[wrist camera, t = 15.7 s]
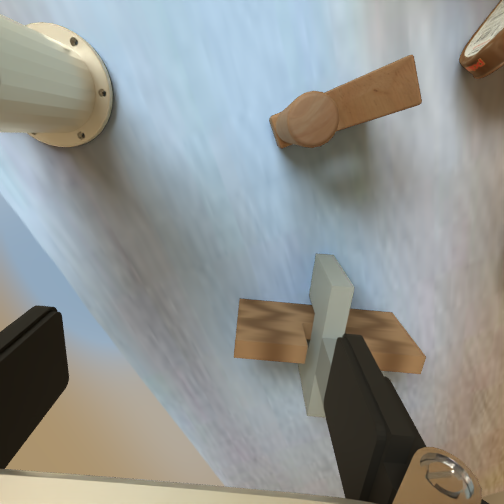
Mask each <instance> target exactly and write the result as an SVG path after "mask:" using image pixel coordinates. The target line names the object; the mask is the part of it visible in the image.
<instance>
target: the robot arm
mask: <svg viewBox="0 0 504 504" xmlns="http://www.w3.org/2000/svg"><path fill="white" fill-rule="evenodd" d="M76 42H78V45H76ZM104 92H106V96H104ZM112 104H113V91H112V86H111V80H110V77H109V74H108V71H107V69H106V67H105V65H104V63H103V61H102V59H101V58H100V56H99V55H98V54H97V52H96V51H95V50H94V48H93V47H92V46H91V45H90V44H89V43H88V42H87V41H86V40H84V39H83V38H82V37H80V36H79V35H77V34H76V33H74V32H73V31H71V30H69V29H67V28H65V27H62V26H59V25H56V24H53V23H44V22H39V23H30V24H28V25H22V24H20V23H18V22H16V21H14V20H12V19H10V18H8V17H6V16H3V15H1V14H0V132H7V133H27V134H29V135H30V136H32V137H33V138H35V139H37V140H38V141H41V142H43V143H46V144H48V145H52V146H57V147H73V146H79V145H82V144H85V143H87V142H89V141H91V140H92V139H94V138H95V137H96V136H97V135H99V134H100V133H101V132H102V130H103V129H104V127H105V126H106V124H107V122H108V119H109V117H110V114H111V109H112ZM83 134H85V138H84V137H83ZM68 381H69V373H68V364H67V356H66V347H65V339H64V330H63V322H62V315H61V313H60V312H57V309H56V308H55V307H48V306H47V307H46V306H34V307H32V308H31V309H30V310H28V311H27V312H26V313H25V314H23V315H22V316H21V317H20V318H18V319H17V320H15V321H14V322H13V323H11V324H10V325H9V326H8V327H6V328H5V329H4V330H2V331H1V332H0V504H488V503H487V502H486V501H484V500H483V499H482V489H481V486H480V484H479V481H478V479H477V478H476V476H475V475H474V474H473V472H472V471H471V470H470V469H469V468H468V467H467V466H466V465H465V464H464V463H463V462H462V461H461V460H459V459H458V458H456V457H455V456H454V455H452V454H450V453H448V452H446V451H444V450H441V449H438V448H434V447H426V445H425V443H424V441H423V440H422V438H421V436H420V434H419V432H418V430H417V429H416V427H415V425H414V423H413V421H412V419H411V418H410V416H409V414H408V412H407V410H406V408H405V407H404V405H403V403H402V401H401V399H400V397H399V396H398V394H397V392H396V390H395V388H394V386H393V385H392V383H391V381H390V380H389V378H387V377H384V376H383V374H382V372H381V370H380V369H379V367H378V365H377V363H376V361H375V359H374V357H373V355H372V353H371V351H370V350H369V348H368V346H367V344H366V342H365V340H364V338H363V336H362V335H357V334H346V333H345V334H343V336H342V337H338V338H337V341H336V345H335V350H334V354H333V359H332V364H331V368H330V373H329V378H328V382H327V387H326V391H325V396H324V412H325V416H326V420H327V424H328V428H329V432H330V436H331V441H332V445H333V449H334V453H335V457H336V461H337V465H338V469H339V473H340V477H341V481H342V485H343V490H344V494H345V498H339V497H329V496H320V495H310V494H301V493H292V492H282V491H270V490H259V489H247V488H236V487H224V486H213V485H201V484H189V483H177V482H165V481H153V480H141V479H128V478H116V477H103V476H90V475H77V474H64V473H51V472H50V473H49V472H37V471H23V470H9V469H5V468H6V466H7V465H8V463H9V462H10V461H11V460H12V458H13V457H14V456H15V454H16V453H17V452H18V450H19V449H20V448H21V446H22V445H23V444H24V442H25V441H26V440H27V438H28V437H29V436H30V434H31V433H32V432H33V431H34V429H35V428H36V427H37V425H38V424H39V423H40V421H41V420H42V419H43V417H44V416H45V415H46V413H47V412H48V411H49V409H50V408H51V407H52V405H53V404H54V403H55V401H56V400H57V399H58V397H59V396H60V395H61V394H62V392H63V391H64V390H65V388H66V386H67V384H68Z"/></svg>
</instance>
